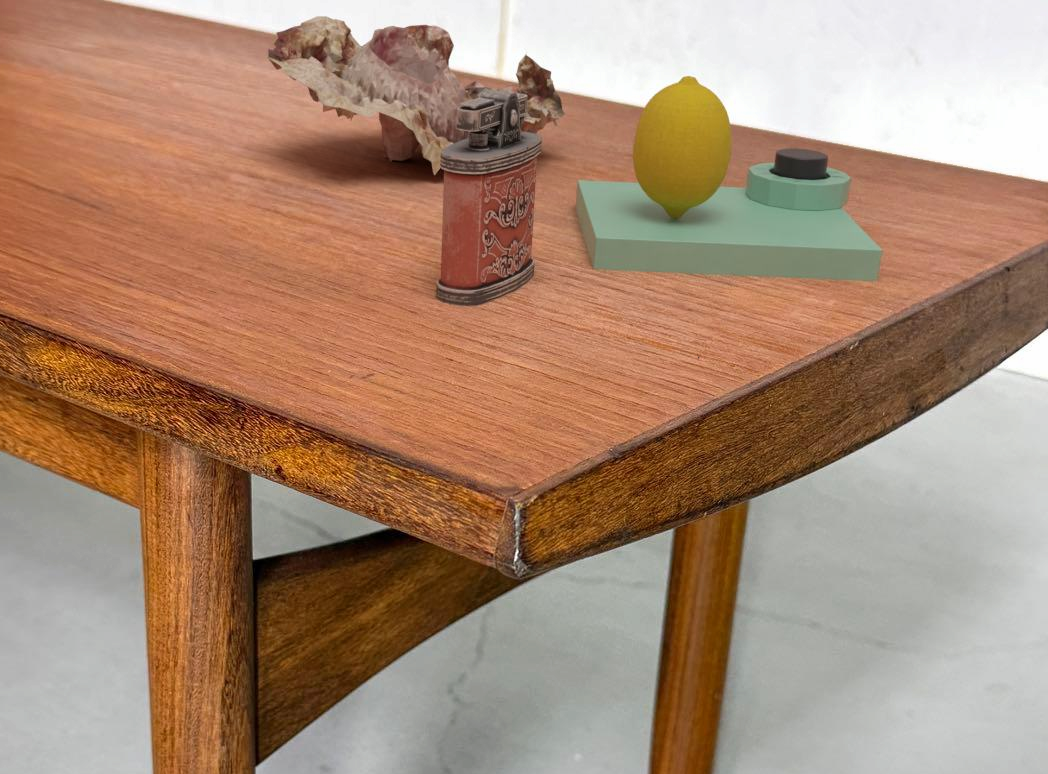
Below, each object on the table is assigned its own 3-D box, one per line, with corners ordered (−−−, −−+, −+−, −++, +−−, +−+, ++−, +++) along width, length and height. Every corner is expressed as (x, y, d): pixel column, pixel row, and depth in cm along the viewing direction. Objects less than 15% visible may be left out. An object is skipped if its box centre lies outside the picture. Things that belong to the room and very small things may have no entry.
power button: (818, 174, 94) (822, 149, 93) (829, 185, 91) (833, 160, 90) (768, 172, 93) (771, 147, 93) (778, 183, 91) (781, 158, 90)
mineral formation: (291, 176, 94) (355, 34, 89) (220, 62, 104) (274, -70, 100) (564, 255, 108) (632, 136, 103) (477, 147, 118) (535, 35, 113)
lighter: (491, 264, 82) (500, 78, 78) (547, 274, 81) (559, 86, 77) (421, 300, 76) (426, 99, 71) (480, 311, 75) (489, 108, 70)
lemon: (670, 202, 90) (684, 65, 86) (742, 222, 86) (759, 80, 83) (607, 214, 86) (619, 71, 83) (679, 235, 83) (694, 87, 79)
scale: (828, 218, 96) (836, 164, 95) (887, 283, 83) (897, 221, 82) (574, 207, 95) (578, 152, 94) (593, 271, 82) (598, 208, 81)
